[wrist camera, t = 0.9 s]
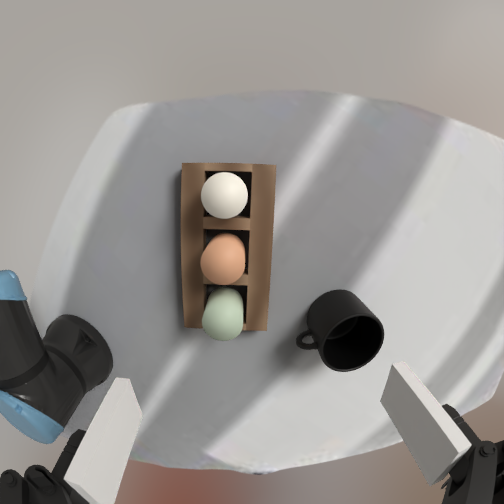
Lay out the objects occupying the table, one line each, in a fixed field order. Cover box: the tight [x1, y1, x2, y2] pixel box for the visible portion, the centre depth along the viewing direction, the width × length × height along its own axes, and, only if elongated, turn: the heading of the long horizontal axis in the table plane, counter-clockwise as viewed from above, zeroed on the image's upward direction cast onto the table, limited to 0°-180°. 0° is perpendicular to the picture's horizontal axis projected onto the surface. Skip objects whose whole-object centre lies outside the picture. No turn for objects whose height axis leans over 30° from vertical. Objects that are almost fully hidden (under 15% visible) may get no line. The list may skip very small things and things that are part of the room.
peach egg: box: [200, 233, 245, 285], centre depth 33 cm, size 5×5×6 cm
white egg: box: [201, 172, 248, 219], centre depth 31 cm, size 5×5×6 cm
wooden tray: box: [181, 163, 276, 331], centre depth 37 cm, size 12×23×3 cm, turn 178°
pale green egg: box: [202, 287, 243, 341], centre depth 35 cm, size 5×5×6 cm
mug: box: [296, 290, 384, 372], centre depth 37 cm, size 9×12×9 cm
